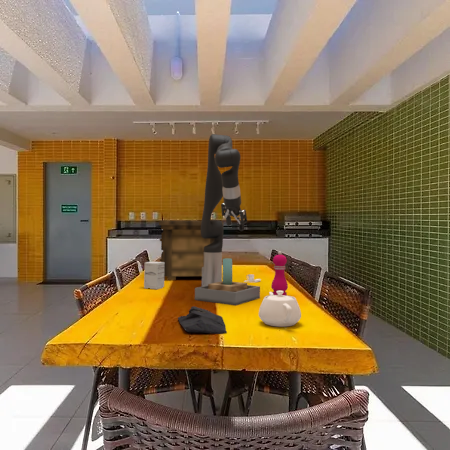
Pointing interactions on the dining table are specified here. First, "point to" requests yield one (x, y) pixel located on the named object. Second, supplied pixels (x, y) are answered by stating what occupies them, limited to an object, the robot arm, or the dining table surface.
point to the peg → (227, 271)
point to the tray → (227, 295)
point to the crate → (182, 248)
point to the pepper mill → (279, 274)
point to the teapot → (279, 310)
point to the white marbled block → (154, 275)
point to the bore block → (228, 286)
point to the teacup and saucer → (252, 278)
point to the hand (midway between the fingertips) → (235, 227)
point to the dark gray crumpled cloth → (202, 322)
